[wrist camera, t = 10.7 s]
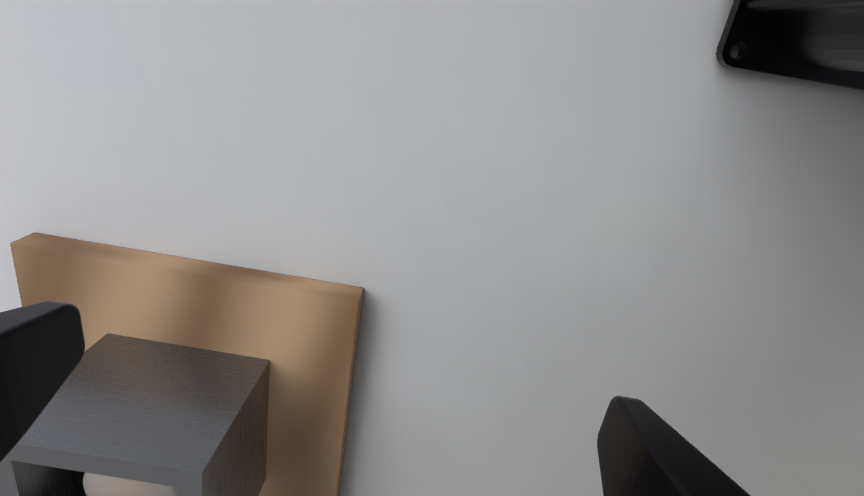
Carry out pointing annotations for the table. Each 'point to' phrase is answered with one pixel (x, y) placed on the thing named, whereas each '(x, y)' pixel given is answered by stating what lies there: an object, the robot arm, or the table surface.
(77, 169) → the table surface
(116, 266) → the board
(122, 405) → the duct collar
